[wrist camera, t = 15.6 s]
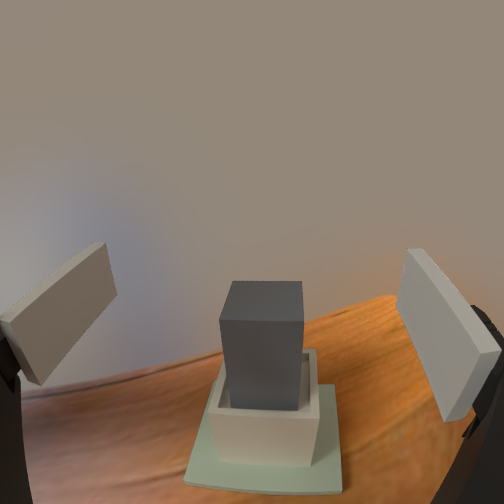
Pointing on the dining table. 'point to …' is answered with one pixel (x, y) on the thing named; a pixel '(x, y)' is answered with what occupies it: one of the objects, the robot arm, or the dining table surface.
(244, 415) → the cream base brick
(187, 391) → the dining table surface
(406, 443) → the dining table surface
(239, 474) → the green baseplate
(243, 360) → the charcoal brick
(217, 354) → the dining table surface
